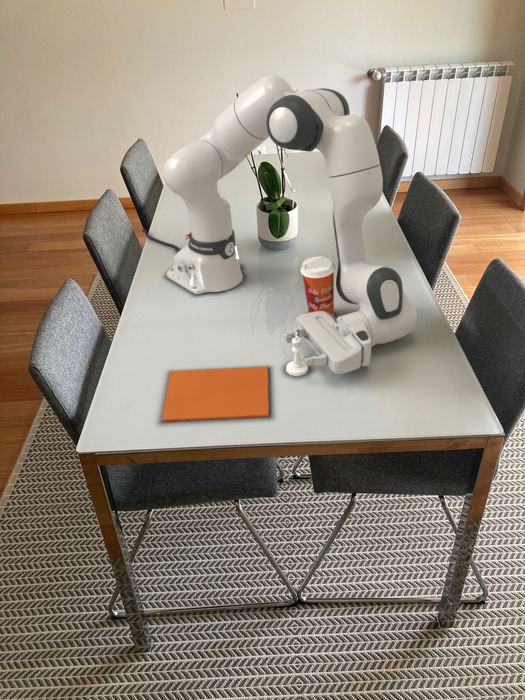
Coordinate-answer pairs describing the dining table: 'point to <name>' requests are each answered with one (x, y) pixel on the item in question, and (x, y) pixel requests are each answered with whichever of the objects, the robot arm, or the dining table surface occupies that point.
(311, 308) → the coffee cup
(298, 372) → the chess piece
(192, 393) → the cloth mat
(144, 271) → the dining table surface
